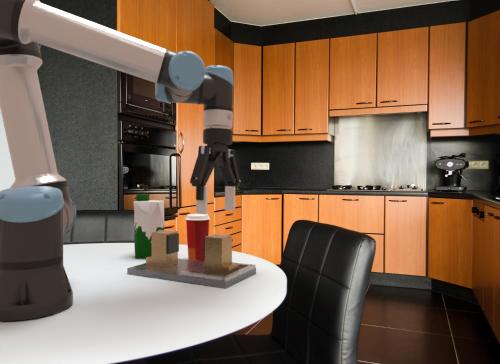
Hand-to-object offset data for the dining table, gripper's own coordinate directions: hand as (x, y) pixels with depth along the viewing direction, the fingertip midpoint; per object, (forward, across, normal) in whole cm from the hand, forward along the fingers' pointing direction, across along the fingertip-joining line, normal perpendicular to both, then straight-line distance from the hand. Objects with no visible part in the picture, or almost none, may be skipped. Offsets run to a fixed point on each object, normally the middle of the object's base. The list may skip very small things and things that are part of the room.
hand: (216, 212), depth 101 cm
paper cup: (+17, +16, +16) cm, 28 cm away
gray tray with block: (+17, 0, +8) cm, 18 cm away
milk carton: (+17, +13, +33) cm, 39 cm away
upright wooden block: (+15, 0, -1) cm, 15 cm away
